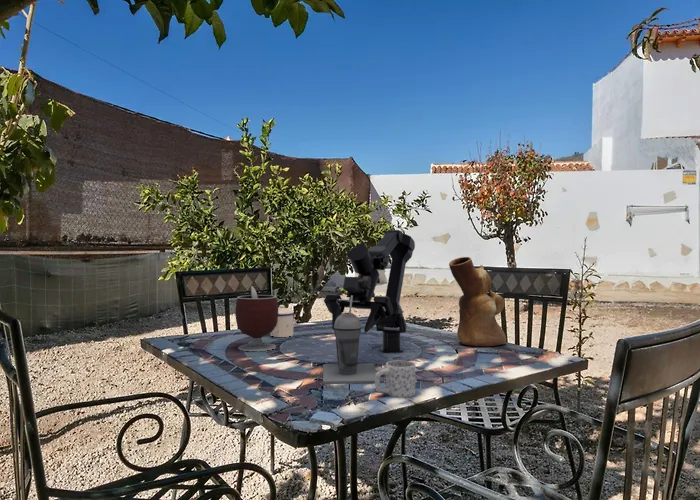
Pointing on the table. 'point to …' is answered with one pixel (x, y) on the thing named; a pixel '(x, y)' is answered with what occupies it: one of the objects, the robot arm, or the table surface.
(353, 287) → the robot arm
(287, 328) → the teacup with lid
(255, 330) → the mate gourd
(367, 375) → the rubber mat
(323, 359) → the table surface
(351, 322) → the beverage cup
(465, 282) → the ceramic vessel
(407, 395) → the mug
